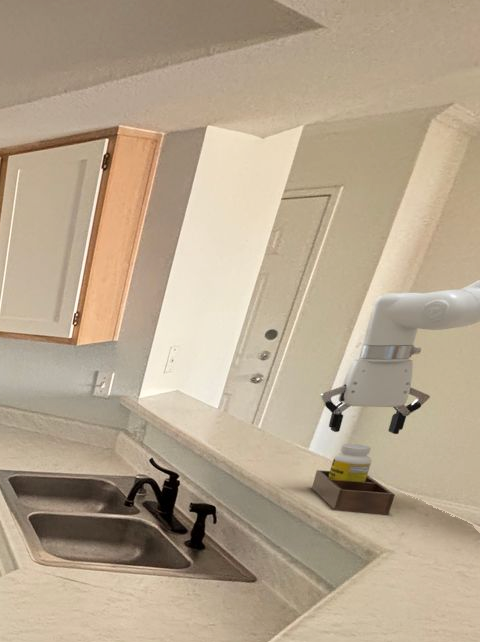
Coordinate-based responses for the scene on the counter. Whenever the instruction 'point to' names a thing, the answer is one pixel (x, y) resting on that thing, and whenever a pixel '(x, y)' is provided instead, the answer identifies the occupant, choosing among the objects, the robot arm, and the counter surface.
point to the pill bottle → (351, 463)
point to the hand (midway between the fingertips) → (363, 431)
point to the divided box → (353, 494)
